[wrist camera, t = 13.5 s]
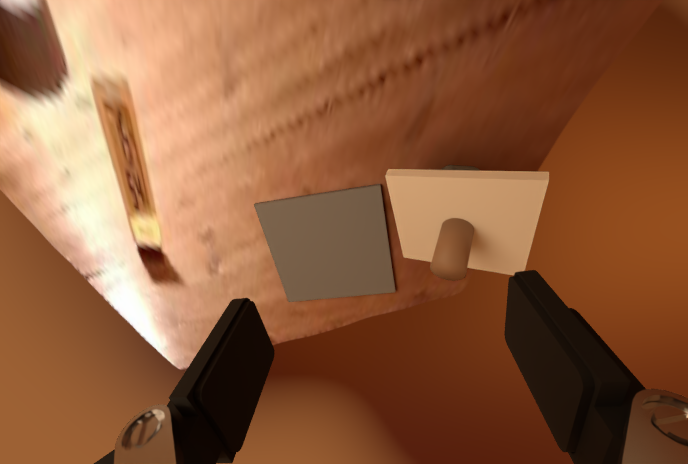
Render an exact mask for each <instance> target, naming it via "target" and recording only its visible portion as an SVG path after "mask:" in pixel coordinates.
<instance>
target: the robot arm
mask: <svg viewBox="0 0 688 464" xmlns="http://www.w3.org/2000/svg"><path fill="white" fill-rule="evenodd" d="M505 340H506V343H507V345H508V347H509V349H510V351H511V353H512V355H513V357H514V359H515V361H516V363H517V365H518V367H519V369H520V371H521V373H522V375H523V377H524V379H525V381H526V383H527V385H528V387H529V389H530V391H531V393H532V395H533V397H534V399H535V400H536V403H537V405H538V406H539V409H540V411H541V412H542V415H543V417H544V419H545V420H546V423H547V424H548V426H549V428H550V430H551V432H552V434H553V436H554V438H555V440H556V442H557V444H558V446H559V448H560V449H561V450H562V451H563V452H568V453H569V455H570V457H571V459H572V461H573V463H574V464H688V398H686V397H684V396H682V395H679V394H676V393H673V392H669V391H666V390H659V389H645V387H643V385H642V384H641V383H640V382H639V381H638V379H637V378H636V377H635V376H634V375H633V374H632V373H631V372H630V370H629V369H628V368H627V367H626V366H625V365H624V364H623V362H622V361H621V360H620V359H619V358H618V357H617V356H616V355H615V353H614V352H613V351H612V350H611V349H610V348H609V347H608V345H607V344H606V343H605V342H604V341H603V340H602V339H601V337H600V336H599V335H598V334H597V333H596V332H595V331H594V330H593V328H592V327H591V326H590V325H589V324H588V323H587V322H586V320H585V319H584V318H583V317H582V316H581V315H580V314H579V313H578V312H577V311H576V310H574V309H572V308H568V307H567V306H566V305H565V304H564V302H563V301H562V300H561V299H560V298H559V297H558V296H557V294H556V293H555V292H554V291H553V290H552V288H551V287H550V286H549V285H548V284H547V283H546V281H545V280H544V279H543V278H542V277H541V276H540V274H539V273H538V272H537V271H535V270H530V271H520V272H515V274H514V276H513V277H510V278H509V284H508V296H507V310H506V322H505ZM273 358H274V348H273V345H272V343H271V341H270V338H269V336H268V334H267V331H266V329H265V327H264V324H263V322H262V320H261V317H260V315H259V313H258V310H257V308H256V306H255V304H254V302H253V301H250V299H248V298H242V299H233V300H232V301H231V302H230V303H229V305H228V307H227V308H226V310H225V311H224V313H223V314H222V316H221V317H220V319H219V321H218V322H217V324H216V325H215V327H214V328H213V330H212V331H211V333H210V335H209V336H208V338H207V339H206V341H205V342H204V344H203V345H202V347H201V349H200V350H199V352H198V353H197V355H196V356H195V358H194V359H193V361H192V363H191V364H190V366H189V367H188V369H187V370H186V372H185V373H184V375H183V377H182V378H181V380H180V381H179V383H178V385H177V386H176V387H175V389H174V391H173V392H172V394H171V395H170V397H169V399H170V402H169V403H168V405H167V406H165V405H159V404H158V405H154V406H151V407H149V408H147V409H145V410H143V411H141V412H140V413H139V414H137V415H136V416H134V417H133V418H132V420H130V421H129V422H128V423H127V425H126V426H125V427H124V428H123V430H122V431H121V433H120V435H119V436H118V438H117V441H116V445H115V450H113V451H112V452H110V453H109V454H107V455H106V456H104V457H103V458H101V459H100V460H99V461H97V462H96V463H94V464H216V463H232V462H233V460H234V457H235V454H236V452H238V451H240V449H241V447H242V445H243V442H244V440H245V437H246V434H247V431H248V428H249V426H250V423H251V420H252V417H253V414H254V412H255V408H256V406H257V403H258V401H259V397H260V395H261V392H262V389H263V386H264V384H265V381H266V378H267V375H268V373H269V370H270V367H271V364H272V361H273Z"/></svg>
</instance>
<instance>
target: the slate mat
mask: <svg viewBox="0 0 688 464" xmlns="http://www.w3.org/2000/svg"><path fill="white" fill-rule="evenodd" d="M254 207H255V209H256V212H257V215H258V218H259V221H260V223H261V226H262V229H263V232H264V234H265V237H266V240H267V243H268V246H269V248H270V251H271V254H272V257H273V260H274V262H275V265H276V268H277V271H278V273H279V276H280V279H281V282H282V285H283V287H284V290H285V293H286V296H287V299H288V301H289V302H294V301H305V300H316V299H327V298H338V297H349V296H359V295H370V294H381V293H392V292H395V285H394V278H393V271H392V263H391V256H390V249H389V242H388V235H387V228H386V221H385V214H384V207H383V200H382V193H381V186H380V184H376V185H370V186H363V187H357V188H350V189H344V190H338V191H331V192H325V193H318V194H312V195H306V196H299V197H293V198H286V199H280V200H274V201H267V202H261V203H255V204H254Z"/></svg>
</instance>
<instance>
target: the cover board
mask: <svg viewBox="0 0 688 464" xmlns="http://www.w3.org/2000/svg"><path fill="white" fill-rule="evenodd" d="M385 177H386V181H387V186H388V190H389V195H390V199H391V203H392V208H393V212H394V217H395V221H396V225H397V230H398V234H399V239H400V243H401V248H402V252H403V256H404V257H405V258H411V259H417V260H423V261H429V262H431V265H430V269H431V271H432V272H433V273H434V274H435V275H436V276H438V277H440V278H443V279H446V280H452V281H456V280H461V279H463V278H464V277H465V276H466V271H467V268H472V269H478V270H485V271H491V272H497V273H503V274H509V275H514V274H515V272H520V271H525V267H526V263H527V259H528V256H529V252H530V248H531V245H532V241H533V237H534V234H535V230H536V226H537V223H538V219H539V215H540V212H541V208H542V204H543V200H544V197H545V193H546V190H547V186H548V182H549V172H530V171H471V170H413V169H388V171H387V173H386V175H385Z"/></svg>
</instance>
